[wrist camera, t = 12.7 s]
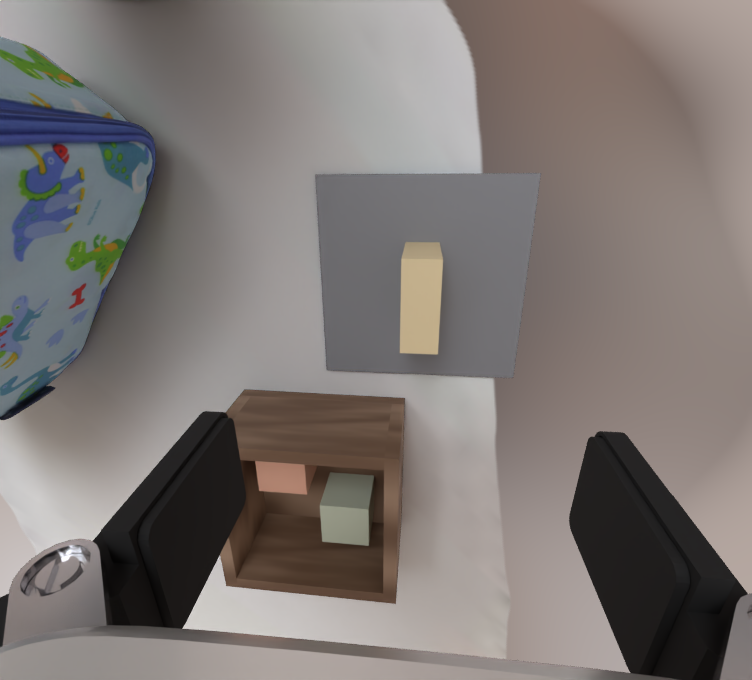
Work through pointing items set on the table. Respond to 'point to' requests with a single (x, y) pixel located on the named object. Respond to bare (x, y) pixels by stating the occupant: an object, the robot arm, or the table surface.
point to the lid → (425, 270)
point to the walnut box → (316, 494)
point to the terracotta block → (284, 477)
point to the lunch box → (58, 216)
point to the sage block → (347, 509)
